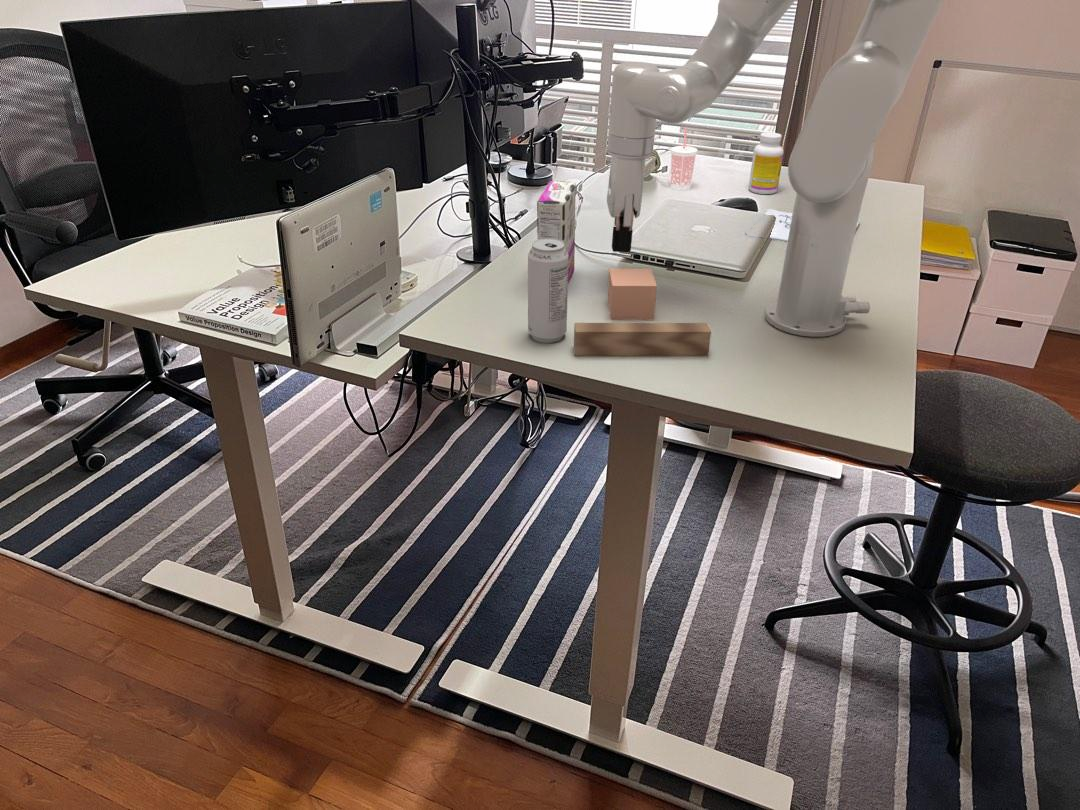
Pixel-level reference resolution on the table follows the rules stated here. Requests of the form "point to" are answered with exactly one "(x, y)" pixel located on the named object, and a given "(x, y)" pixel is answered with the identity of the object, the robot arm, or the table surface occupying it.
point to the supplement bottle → (766, 164)
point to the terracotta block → (631, 294)
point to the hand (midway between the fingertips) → (621, 249)
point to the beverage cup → (682, 166)
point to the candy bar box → (558, 216)
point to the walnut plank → (641, 339)
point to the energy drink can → (547, 290)
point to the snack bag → (782, 225)
